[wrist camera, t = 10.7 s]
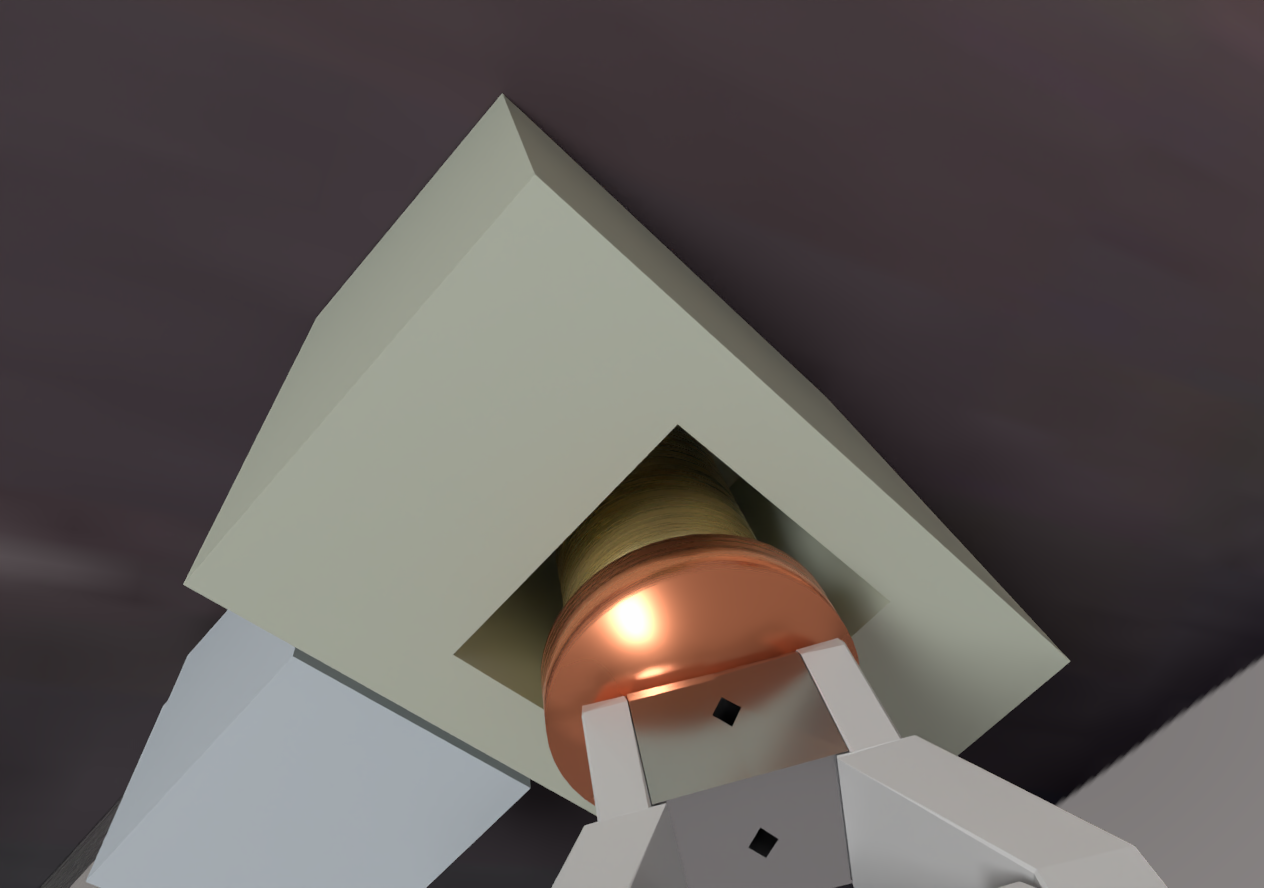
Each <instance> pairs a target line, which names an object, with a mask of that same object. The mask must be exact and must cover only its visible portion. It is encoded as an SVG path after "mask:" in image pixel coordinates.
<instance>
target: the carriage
mask: <svg viewBox="0 0 1264 888" xmlns="http://www.w3.org/2000/svg"><path fill="white" fill-rule="evenodd" d="M530 788H531V786H530V778H528V777H526V776H524V775H523V774H521V773H519V772H517V771H515V770H514V769H512V768H510V767H508V766H507V765H505V764H503V763H501V762H499V761H498V760H496V759H494V758H492V757H490V756H489V755H487V754H485V753H483V752H482V751H480V750H478V749H476V748H474V747H473V746H471V745H469V744H467V743H465V742H464V741H462V740H460V739H458V738H457V737H455V736H453V735H451V734H449V733H448V732H446V731H444V730H442V729H440V728H439V727H437V726H435V725H433V724H432V723H430V722H428V721H426V720H424V719H423V718H421V717H419V716H417V715H415V714H414V713H412V712H410V711H408V710H407V709H405V708H403V707H401V706H399V705H398V704H396V703H394V702H392V701H390V700H389V699H387V698H385V697H383V696H382V695H380V694H378V693H376V692H374V691H373V690H371V689H369V688H367V687H365V686H364V685H362V684H360V683H358V682H357V681H355V680H353V679H351V678H349V677H348V676H346V675H344V674H342V673H340V672H339V671H337V670H335V669H333V668H332V667H330V666H328V665H326V664H324V663H323V662H321V661H319V660H317V659H315V658H314V657H312V656H310V655H308V654H307V653H305V652H303V651H301V650H299V649H298V648H296V647H294V646H292V645H290V644H289V643H287V642H285V641H283V640H282V639H280V638H278V637H276V636H274V635H273V634H271V633H269V632H267V631H265V630H264V629H262V628H260V627H258V626H257V625H255V624H253V623H251V622H249V621H248V620H246V619H244V618H242V617H240V616H239V615H237V614H235V613H233V612H232V611H230V610H227V611H226V613H225V614H224V615H223V616H222V617H221V618H220V619H219V621H218V622H217V623H216V624H215V625H214V626H213V627H212V628H211V630H210V631H209V632H208V633H207V634H206V635H205V636H204V638H203V639H202V640H201V641H200V642H199V643H198V644H197V645H196V647H195V648H194V649H193V650H192V651H191V652H190V653H189V655H188V656H187V658H186V661H185V663H184V665H183V668H182V670H181V672H180V674H179V677H178V679H177V681H176V684H175V686H174V688H173V690H172V693H171V695H170V697H169V700H168V701H167V702H166V703H165V704H164V706H163V707H162V710H161V712H160V714H159V716H158V719H157V721H156V723H155V726H154V728H153V730H152V732H151V735H150V737H149V739H148V741H147V744H146V746H145V748H144V750H143V753H142V755H141V757H140V760H139V762H138V764H137V766H136V769H135V771H134V773H133V775H132V778H131V780H130V782H129V784H128V787H127V789H126V791H125V793H124V796H123V798H122V800H121V803H120V805H119V807H118V809H117V812H116V814H115V816H114V818H113V821H112V823H111V825H110V827H109V830H108V832H107V834H106V837H105V839H104V841H103V843H102V846H101V848H100V850H99V852H98V855H97V857H96V859H95V861H94V864H93V866H92V868H91V871H90V873H89V875H88V877H87V880H86V882H87V883H90V884H92V885H95V886H97V887H100V888H426V887H427V886H428V885H429V884H430V883H431V882H432V881H433V880H435V879H436V878H437V877H438V876H439V875H440V874H441V873H442V872H443V871H444V870H445V869H446V868H447V867H448V866H449V865H450V864H451V863H452V862H453V861H455V860H456V859H457V858H458V857H459V856H460V855H461V854H462V853H463V852H464V851H465V850H466V849H467V848H468V847H469V846H470V845H471V844H472V843H473V842H475V841H476V840H477V839H478V838H479V837H480V836H481V835H482V834H483V833H484V832H485V831H486V830H487V829H488V828H489V827H490V826H491V825H492V824H493V823H494V822H496V821H497V820H498V819H499V818H500V817H501V816H502V815H503V814H504V813H505V812H506V811H507V810H508V809H509V808H510V807H511V806H512V805H513V804H514V803H516V802H517V801H518V800H519V799H520V798H521V797H522V796H523V795H524V794H525V793H526V792H527V791H528V790H529V789H530Z"/></svg>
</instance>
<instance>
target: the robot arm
mask: <svg viewBox="0 0 1264 888" xmlns="http://www.w3.org/2000/svg"><path fill="white" fill-rule="evenodd" d="M627 697H628V700H627ZM627 697H626V696H621V697H617V698H613V699H609V700H605V701H601V702H596V703H592V704H588V705H584V706H582V723H583V729H584V736H585V742H586V749H587V755H588V762H589V768H590V774H591V781H592V787H593V794H594V800H595V807H596V813H597V820H598V822H595V823H591V824H588V825H585V826H584V827H583V829H582V831H581V833H580V835H579V837H578V839H577V840H576V842H575V844H574V846H573V848H572V850H571V852H570V854H569V856H568V858H567V859H566V861H565V863H564V865H563V867H562V869H561V871H560V873H559V875H558V876H557V878H556V880H555V882H554V884H553V886H552V888H834V887H838V886H842V885H846V884H850V883H853V887H854V888H1168V887H1167V886H1166V885H1165V883H1164V882H1163V881H1162V879H1161V878H1160V877H1159V876H1158V875H1157V873H1156V872H1155V871H1154V869H1153V868H1152V867H1151V866H1150V864H1149V863H1148V862H1147V861H1146V859H1145V858H1144V857H1143V856H1142V854H1141V853H1140V852H1139V850H1138V849H1137V848H1136V847H1135V846H1134V845H1132V844H1130V843H1128V842H1126V841H1124V840H1122V839H1120V838H1118V837H1116V836H1114V835H1112V834H1110V833H1108V832H1106V831H1105V830H1103V829H1101V828H1099V827H1097V826H1095V825H1093V824H1091V823H1089V822H1087V821H1085V820H1083V819H1081V818H1079V817H1077V816H1075V815H1073V814H1071V813H1069V812H1067V811H1065V810H1063V809H1061V808H1059V807H1057V806H1055V805H1053V804H1051V803H1049V802H1047V801H1045V800H1043V799H1041V798H1039V797H1037V796H1035V795H1033V794H1031V793H1029V792H1027V791H1025V790H1024V789H1022V788H1020V787H1018V786H1016V785H1014V784H1012V783H1010V782H1008V781H1006V780H1004V779H1002V778H1000V777H998V776H996V775H994V774H992V773H990V772H988V771H986V770H984V769H982V768H980V767H978V766H976V765H974V764H972V763H970V762H968V761H966V760H964V759H962V758H960V757H958V756H956V755H954V754H952V753H950V752H948V751H946V750H944V749H942V748H940V747H938V746H936V745H935V744H933V743H931V742H929V741H927V740H925V739H923V738H921V737H919V736H917V735H913V736H909V737H906V738H902V737H901V735H900V734H899V732H898V730H897V729H896V727H895V725H894V724H893V722H892V720H891V719H890V717H889V715H888V714H887V712H886V710H885V709H884V707H883V705H882V704H881V702H880V700H879V699H878V697H877V695H876V694H875V692H874V690H873V689H872V687H871V685H870V684H869V682H868V680H867V679H866V677H865V675H864V674H863V672H862V670H861V669H860V667H859V665H858V664H857V662H856V660H855V659H854V657H853V655H852V654H851V652H850V650H849V649H848V647H847V645H846V644H845V642H844V641H842V640H840V639H839V638H835V639H832V640H828V641H825V642H821V643H818V644H814V645H811V646H807V647H804V648H801V649H797V650H796V652H789V653H785V654H782V655H778V656H774V657H771V658H767V659H764V660H760V661H756V662H753V663H749V664H745V665H742V666H738V667H734V668H731V669H727V670H723V671H720V672H716V673H712V674H709V675H705V676H700V677H696V678H692V679H688V680H684V681H680V682H676V683H671V684H667V685H663V686H659V687H655V688H651V689H647V690H642V691H638V692H634V693H630V694H627ZM628 701H629V704H628ZM629 706H630V707H629ZM630 710H631V711H630Z"/></svg>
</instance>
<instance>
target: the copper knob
mask: <svg viewBox="0 0 1264 888" xmlns="http://www.w3.org/2000/svg"><path fill="white" fill-rule="evenodd" d="M555 556H556V562H557V569H558V575H559V581H560V588H561V594H562V600H563V609H562V610H561V612H560V613H559V615H558V616H557V618H556V620H555V622H554V624H553V626H552V628H551V630H550V632H549V634H548V637H547V640H546V644H545V647H544V650H543V656H542V662H541V688H542V697H543V707H544V716H545V725H546V733H547V739H548V745H549V748H550V751H551V754H552V757H553V759H554V762H555V764H556V766H557V767H558V769H559V771H560V773H561V774H562V776H563V777H564V778H565V780H566V781H567V782H568V783H569V785H570V786H571V787H572V788H573V789H574V790H575V791H576V792H577V793H578V794H580V795H581V796H582V797H583V798H584V799H585V800H587V801H588V802H590V803H591V804H593V805H594V806H595V800H594V794H593V787H592V781H591V774H590V768H589V762H588V755H587V749H586V742H585V736H584V729H583V723H582V706H584V705H588V704H592V703H596V702H601V701H605V700H609V699H613V698H617V697H621V696H626V697H627V694H630V693H634V692H638V691H642V690H647V689H651V688H655V687H659V686H663V685H667V684H671V683H676V682H680V681H684V680H688V679H692V678H696V677H700V676H705V675H709V674H712V673H716V672H720V671H723V670H727V669H731V668H734V667H738V666H742V665H745V664H749V663H753V662H756V661H760V660H764V659H767V658H771V657H774V656H778V655H782V654H785V653H789V652H796V650H797V649H801V648H804V647H807V646H811V645H814V644H818V643H821V642H825V641H828V640H832V639H835V638H839V639H840V640H842V641H844V642H845V644H846V645H847V647H848V649H849V650H850V652H851V654H852V655H853V657H854V659H855V660H856V662H857V664H858V665H859V659H858V654H857V651H856V648H855V645H854V642H853V640H852V638H851V636H850V634H849V632H848V630H847V628H846V627H845V625H844V623H843V622H842V620H841V618H840V617H839V615H838V613H837V612H836V610H835V609H834V607H833V605H832V604H831V602H830V600H829V599H828V597H827V596H826V594H825V592H824V591H823V589H822V587H821V586H820V584H819V583H818V582H817V581H816V579H815V578H814V577H813V575H812V574H811V573H810V572H809V571H808V570H807V569H806V568H805V567H804V566H803V565H802V564H801V563H800V562H798V561H797V560H795V559H794V558H792V557H791V556H790V555H788V554H787V553H785V552H783V551H781V550H779V549H777V548H775V547H773V546H771V545H769V544H766V543H763V542H760V541H757V539H756V537H755V535H754V533H753V532H752V530H751V528H750V526H749V524H748V522H747V521H746V519H745V517H744V515H743V513H742V511H741V510H740V508H739V506H738V504H737V502H736V500H735V499H734V497H733V495H732V493H731V491H730V489H729V488H728V486H727V484H726V482H725V480H724V478H723V477H722V475H721V473H720V471H719V469H718V467H717V466H716V464H715V462H714V460H713V458H712V456H711V455H710V453H709V451H708V449H707V448H706V447H705V446H703V445H702V444H701V443H700V442H699V441H697V440H696V439H695V438H694V437H693V436H691V435H690V434H689V433H688V432H687V431H685V430H684V429H683V428H682V427H681V426H679V425H678V424H677V425H676V426H675V428H674V429H673V430H672V431H671V432H670V433H669V434H668V435H667V436H666V437H665V438H664V439H663V440H662V441H661V442H660V443H659V444H658V445H657V446H656V447H655V448H654V449H653V450H652V451H651V452H650V453H649V454H648V455H647V456H646V457H645V458H644V459H643V460H642V461H641V462H640V463H639V464H638V465H637V467H636V468H635V469H634V470H633V471H632V472H631V473H630V474H629V475H628V476H627V477H626V478H625V479H624V480H623V481H622V482H621V483H620V484H619V485H618V486H617V487H616V488H615V489H614V490H613V491H612V492H611V493H610V494H609V495H608V496H607V497H606V498H605V499H604V500H603V501H602V502H601V503H600V504H599V505H598V507H597V508H596V509H595V510H594V511H593V512H592V513H591V514H590V515H589V516H588V517H587V518H586V519H585V520H584V521H583V522H582V523H581V524H580V525H579V526H578V527H577V528H576V529H575V530H574V531H573V532H572V533H571V534H570V535H569V536H568V537H567V538H566V539H565V540H564V541H563V542H562V543H561V544H560V545H559V547H558V548H557V549H556V550H555ZM859 667H860V666H859ZM627 700H628V697H627ZM628 704H629V701H628ZM629 707H630V706H629ZM630 711H631V710H630Z"/></svg>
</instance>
